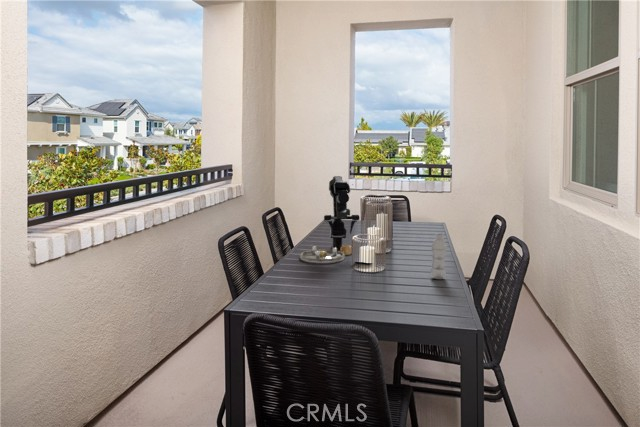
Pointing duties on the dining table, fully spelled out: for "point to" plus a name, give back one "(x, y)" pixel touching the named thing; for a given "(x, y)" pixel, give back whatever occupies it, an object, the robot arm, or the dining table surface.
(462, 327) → the dining table surface
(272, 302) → the dining table surface
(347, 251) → the planet gear
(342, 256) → the carrier
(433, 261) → the plastic bottle
